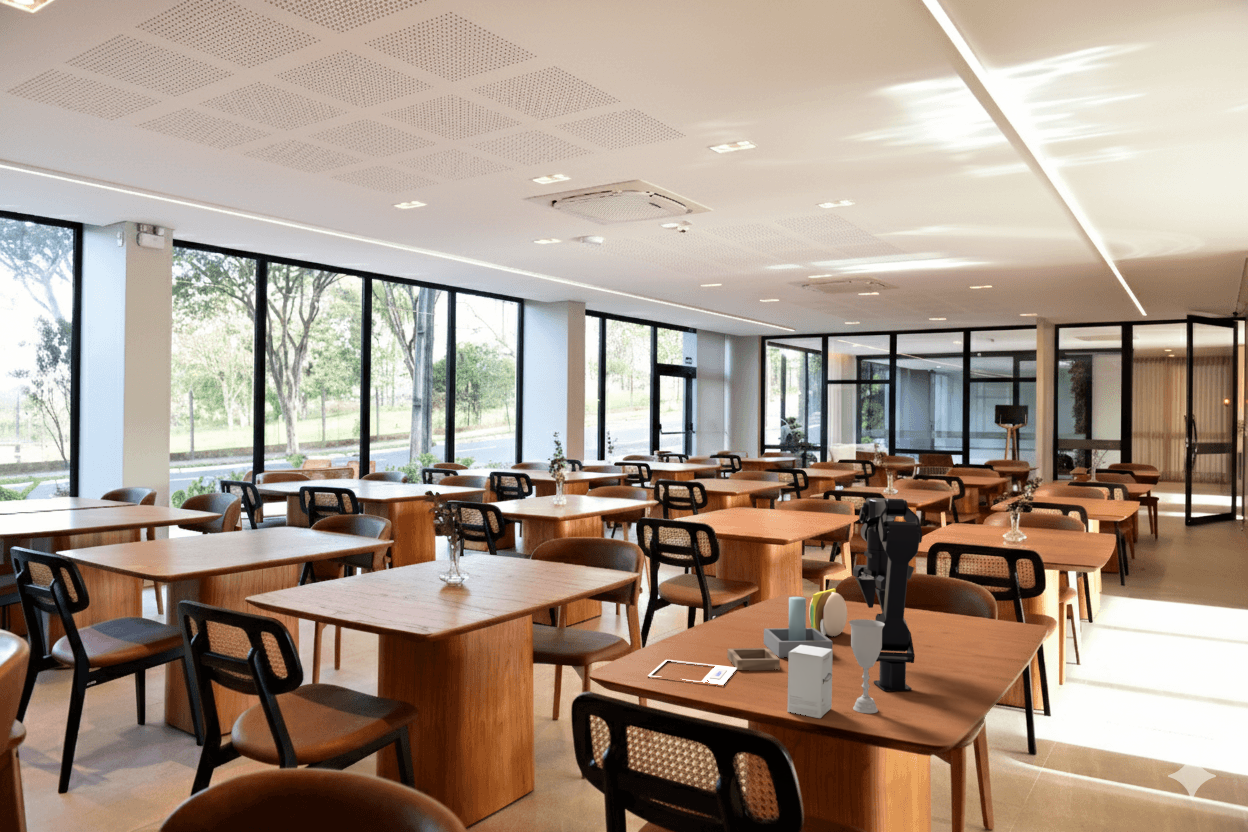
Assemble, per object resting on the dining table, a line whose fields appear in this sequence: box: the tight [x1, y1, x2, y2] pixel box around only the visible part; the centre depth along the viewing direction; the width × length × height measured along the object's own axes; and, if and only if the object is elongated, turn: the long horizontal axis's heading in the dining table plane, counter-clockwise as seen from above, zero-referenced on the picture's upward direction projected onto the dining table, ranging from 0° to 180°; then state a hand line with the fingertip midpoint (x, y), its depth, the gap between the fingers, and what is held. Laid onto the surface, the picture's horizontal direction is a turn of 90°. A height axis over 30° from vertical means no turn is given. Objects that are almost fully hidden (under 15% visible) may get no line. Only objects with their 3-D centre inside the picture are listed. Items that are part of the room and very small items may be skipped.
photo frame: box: [647, 659, 737, 685], centre depth 204 cm, size 15×1×18 cm
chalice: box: [848, 618, 885, 714], centre depth 181 cm, size 7×7×18 cm
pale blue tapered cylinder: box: [788, 596, 807, 641], centre depth 226 cm, size 4×4×12 cm
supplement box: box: [786, 645, 833, 719], centre depth 179 cm, size 7×7×13 cm
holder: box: [726, 647, 781, 671], centre depth 213 cm, size 10×10×2 cm
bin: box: [763, 627, 833, 659], centre depth 226 cm, size 14×14×4 cm
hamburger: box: [808, 588, 848, 638], centre depth 243 cm, size 12×8×12 cm
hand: (878, 611), depth 214 cm, fingers open, 9 cm apart
